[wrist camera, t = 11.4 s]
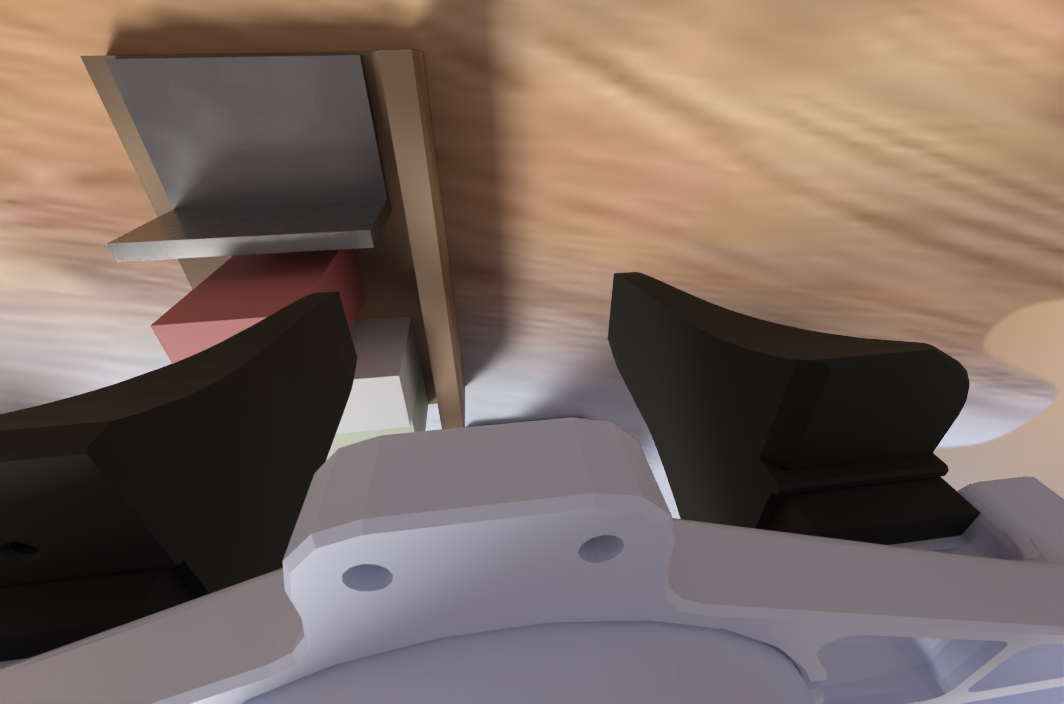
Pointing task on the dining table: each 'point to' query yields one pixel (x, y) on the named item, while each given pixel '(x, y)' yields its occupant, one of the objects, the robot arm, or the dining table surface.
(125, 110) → the shelf board
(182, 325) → the red block
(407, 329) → the books
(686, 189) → the dining table surface
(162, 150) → the bookend
